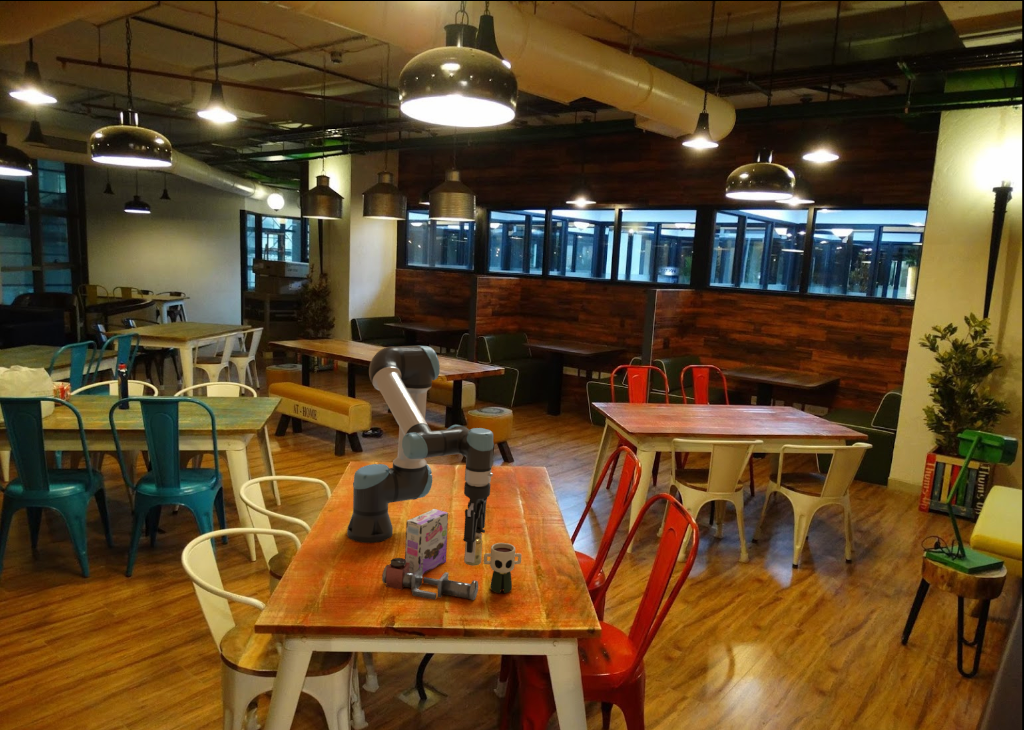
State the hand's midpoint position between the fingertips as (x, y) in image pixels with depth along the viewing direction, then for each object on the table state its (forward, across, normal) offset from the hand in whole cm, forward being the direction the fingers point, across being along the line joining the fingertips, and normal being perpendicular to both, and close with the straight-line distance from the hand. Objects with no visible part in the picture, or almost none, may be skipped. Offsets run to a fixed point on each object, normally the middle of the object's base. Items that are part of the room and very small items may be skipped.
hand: (472, 557), depth 206 cm
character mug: (+8, -2, -10) cm, 12 cm away
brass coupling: (+1, 0, 0) cm, 1 cm away
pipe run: (+8, -10, +9) cm, 15 cm away
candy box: (+8, +4, +16) cm, 19 cm away
